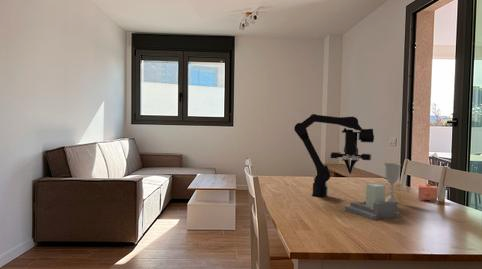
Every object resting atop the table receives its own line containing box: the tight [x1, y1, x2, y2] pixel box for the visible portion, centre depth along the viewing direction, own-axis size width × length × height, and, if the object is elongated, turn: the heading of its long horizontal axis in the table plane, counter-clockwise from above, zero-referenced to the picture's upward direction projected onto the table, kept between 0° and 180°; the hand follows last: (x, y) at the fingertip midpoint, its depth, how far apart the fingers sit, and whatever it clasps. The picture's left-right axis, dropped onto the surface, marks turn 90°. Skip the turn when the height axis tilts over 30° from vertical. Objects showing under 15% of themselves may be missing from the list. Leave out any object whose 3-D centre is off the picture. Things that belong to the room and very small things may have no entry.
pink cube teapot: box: [417, 183, 438, 203], centre depth 163 cm, size 8×12×8 cm, turn 149°
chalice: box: [383, 162, 402, 203], centre depth 159 cm, size 7×7×18 cm
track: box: [344, 200, 402, 221], centre depth 137 cm, size 16×14×6 cm
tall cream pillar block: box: [365, 183, 386, 208], centre depth 135 cm, size 5×5×10 cm
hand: (350, 173), depth 167 cm, fingers closed
